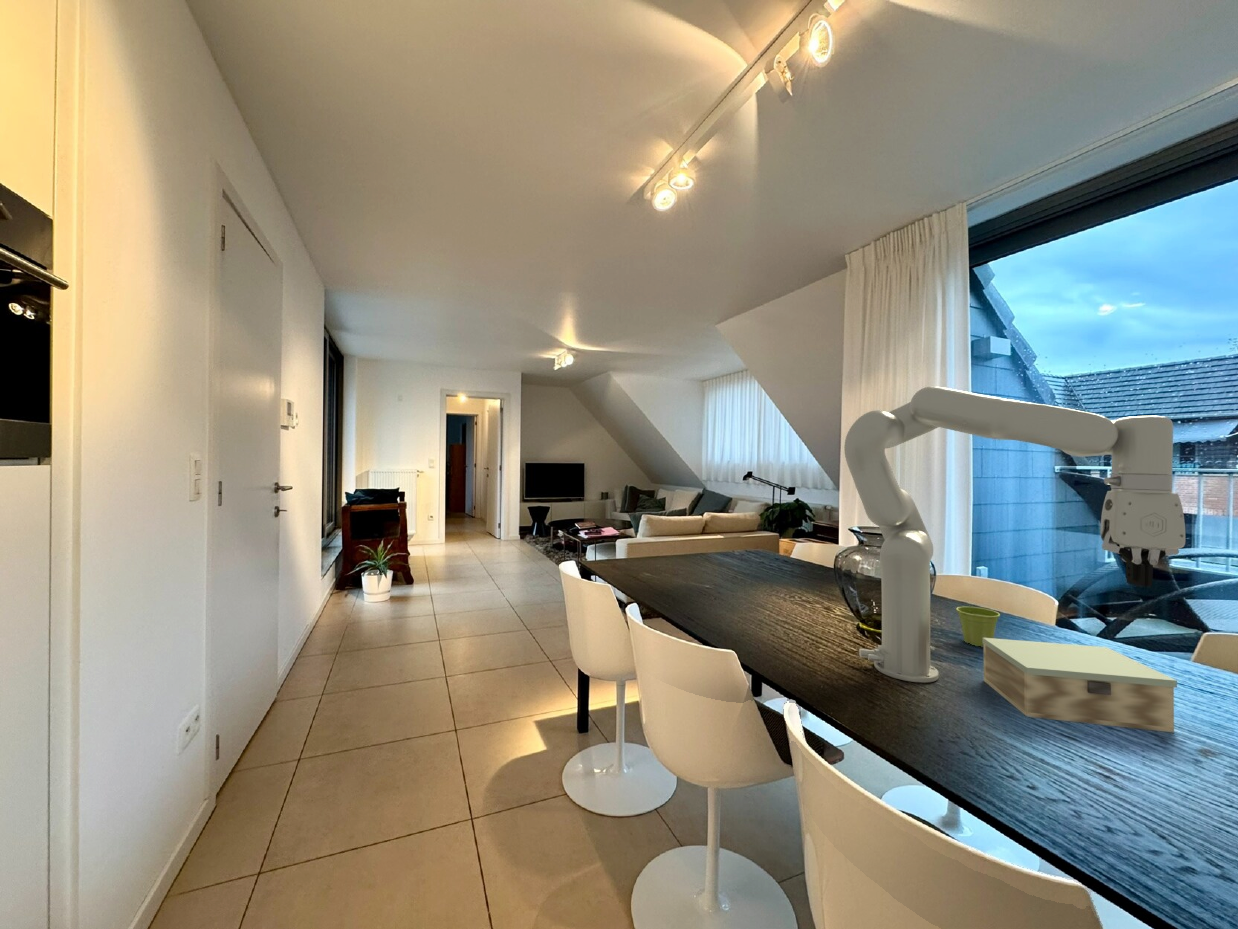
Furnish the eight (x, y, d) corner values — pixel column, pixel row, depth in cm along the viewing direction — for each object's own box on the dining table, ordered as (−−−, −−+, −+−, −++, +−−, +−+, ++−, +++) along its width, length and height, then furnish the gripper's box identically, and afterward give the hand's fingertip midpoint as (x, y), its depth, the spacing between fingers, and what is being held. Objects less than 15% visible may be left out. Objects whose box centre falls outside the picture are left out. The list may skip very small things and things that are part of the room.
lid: (1026, 674, 89) (1026, 667, 89) (982, 643, 105) (982, 637, 105) (1177, 687, 84) (1177, 680, 84) (1106, 652, 100) (1106, 647, 100)
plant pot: (952, 643, 128) (952, 610, 128) (961, 635, 135) (960, 604, 135) (996, 653, 121) (996, 618, 122) (1003, 644, 128) (1003, 611, 128)
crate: (1028, 717, 89) (1028, 674, 89) (983, 680, 105) (983, 643, 105) (1176, 733, 84) (1176, 687, 84) (1105, 692, 100) (1105, 653, 100)
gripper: (1106, 483, 86) (1104, 586, 86) (1212, 486, 82) (1210, 594, 82) (1077, 482, 93) (1075, 577, 93) (1173, 485, 90) (1171, 583, 90)
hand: (1138, 585), depth 88 cm, fingers closed
